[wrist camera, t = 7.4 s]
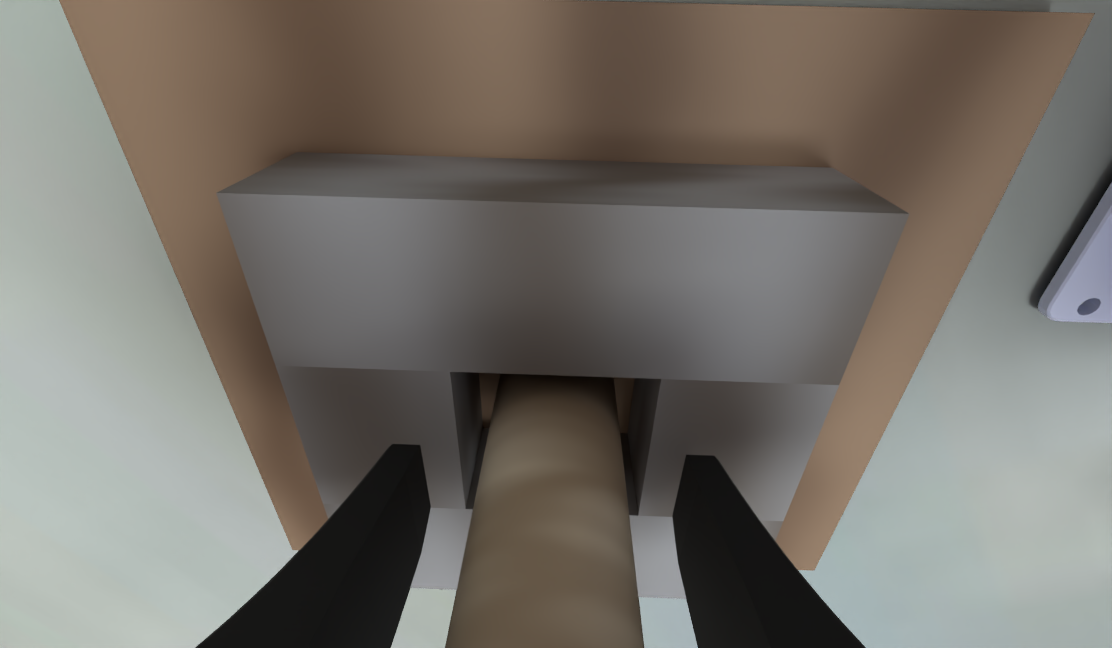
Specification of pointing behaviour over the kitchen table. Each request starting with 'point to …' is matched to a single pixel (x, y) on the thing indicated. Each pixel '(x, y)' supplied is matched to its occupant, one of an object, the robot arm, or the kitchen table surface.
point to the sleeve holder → (570, 227)
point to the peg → (550, 524)
